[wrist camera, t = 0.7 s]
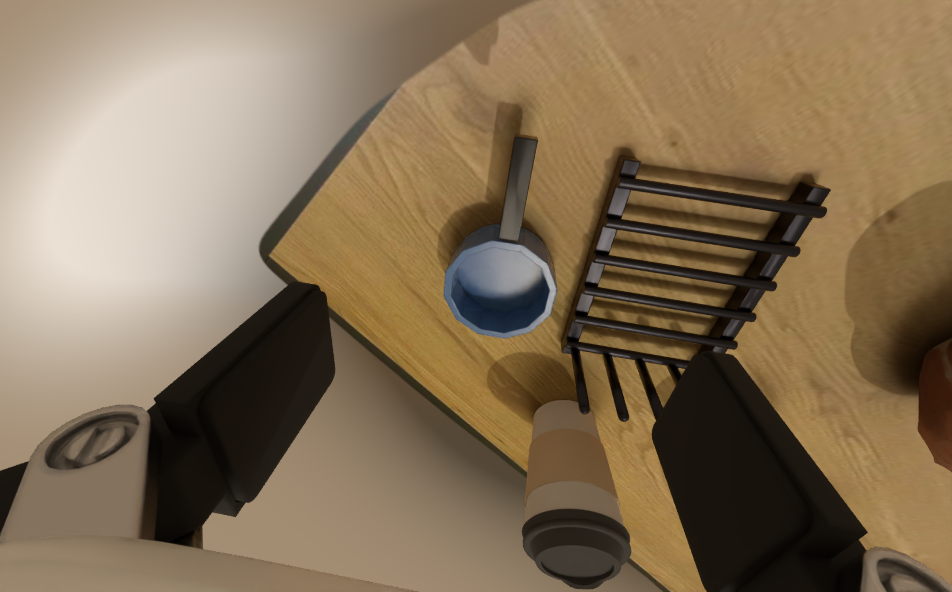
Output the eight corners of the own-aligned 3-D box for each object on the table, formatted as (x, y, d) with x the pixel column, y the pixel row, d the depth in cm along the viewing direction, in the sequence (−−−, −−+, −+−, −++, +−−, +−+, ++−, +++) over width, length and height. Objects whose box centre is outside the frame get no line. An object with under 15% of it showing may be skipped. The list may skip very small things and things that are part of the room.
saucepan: (466, 120, 26) (456, 127, 23) (588, 138, 26) (597, 148, 22) (449, 303, 35) (440, 329, 31) (541, 319, 35) (542, 346, 31)
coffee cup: (515, 397, 41) (508, 543, 28) (597, 387, 38) (630, 542, 26) (534, 448, 45) (535, 594, 32) (609, 441, 42) (642, 597, 30)
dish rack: (619, 154, 26) (657, 189, 18) (816, 183, 25) (946, 232, 18) (560, 343, 36) (568, 419, 28) (702, 367, 35) (752, 453, 27)
